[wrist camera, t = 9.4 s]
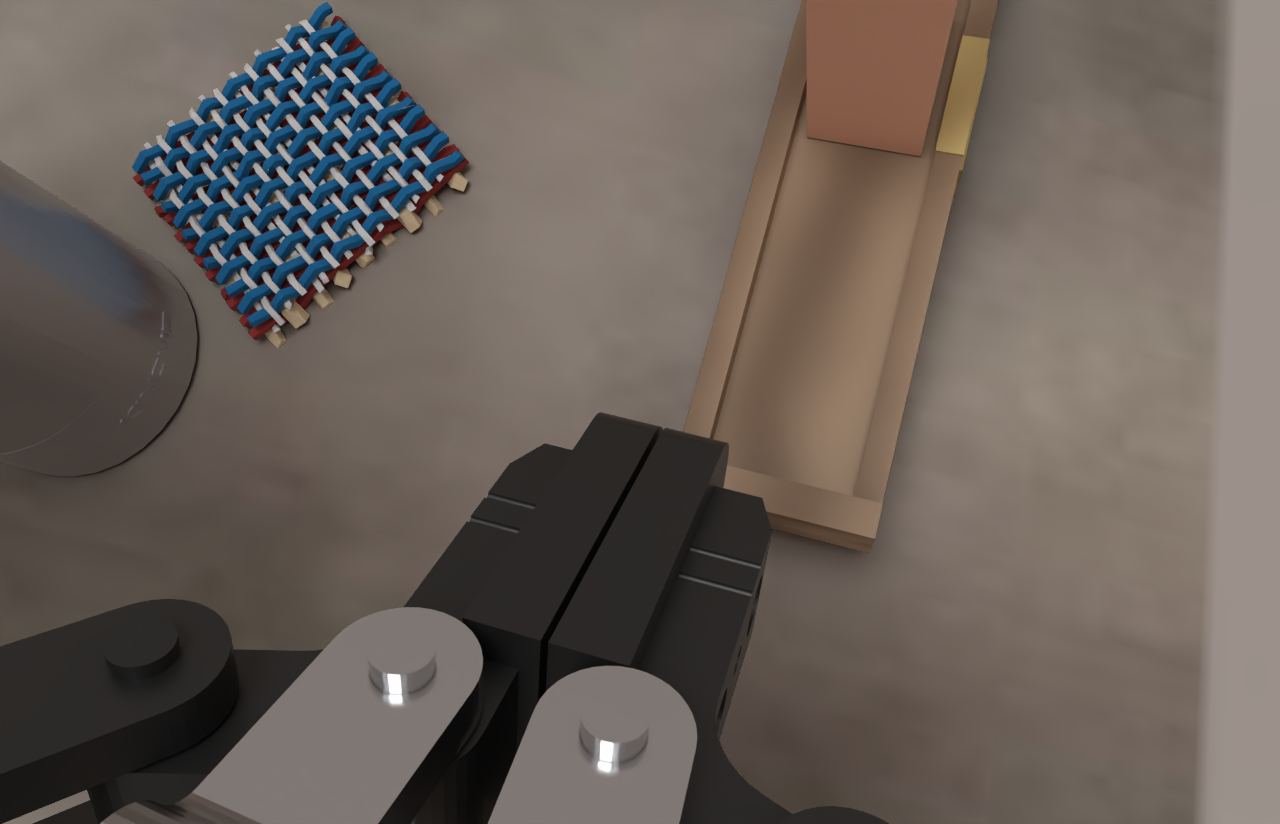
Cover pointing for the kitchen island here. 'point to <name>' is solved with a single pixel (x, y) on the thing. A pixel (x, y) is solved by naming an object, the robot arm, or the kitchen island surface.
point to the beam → (832, 301)
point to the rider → (875, 70)
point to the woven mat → (298, 173)
